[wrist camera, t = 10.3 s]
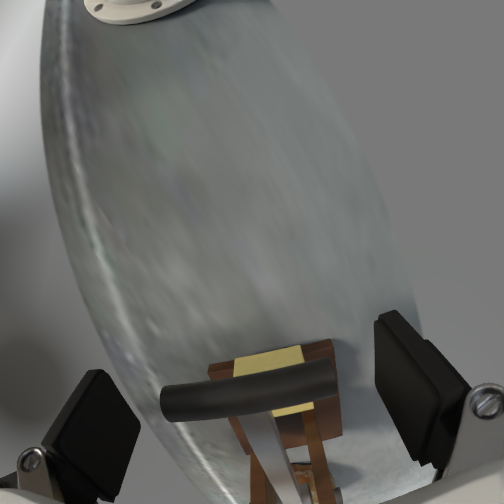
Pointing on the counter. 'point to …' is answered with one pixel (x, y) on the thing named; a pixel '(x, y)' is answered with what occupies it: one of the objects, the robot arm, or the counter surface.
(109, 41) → the counter surface
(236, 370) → the butter
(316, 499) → the bread roll
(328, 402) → the cutter
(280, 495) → the arm
